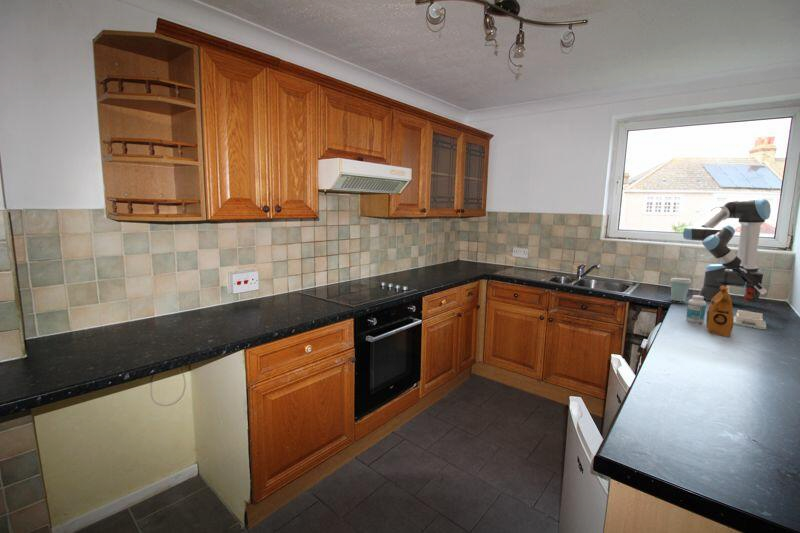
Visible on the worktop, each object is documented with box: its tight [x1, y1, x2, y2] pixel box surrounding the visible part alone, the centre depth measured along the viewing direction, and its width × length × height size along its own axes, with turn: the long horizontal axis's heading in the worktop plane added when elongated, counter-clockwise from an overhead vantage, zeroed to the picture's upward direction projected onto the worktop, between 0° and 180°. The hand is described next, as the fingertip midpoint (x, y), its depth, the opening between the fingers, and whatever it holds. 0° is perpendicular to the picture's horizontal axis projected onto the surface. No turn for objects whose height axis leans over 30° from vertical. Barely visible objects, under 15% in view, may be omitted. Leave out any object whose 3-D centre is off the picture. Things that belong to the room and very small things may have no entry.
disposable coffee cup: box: [670, 277, 692, 302], centre depth 241 cm, size 11×11×15 cm
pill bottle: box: [685, 294, 707, 324], centre depth 199 cm, size 8×7×14 cm
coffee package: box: [705, 286, 735, 338], centre depth 181 cm, size 10×12×22 cm
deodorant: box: [743, 272, 764, 303], centre depth 205 cm, size 6×6×15 cm
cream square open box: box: [733, 309, 767, 331], centre depth 197 cm, size 14×13×5 cm
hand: (760, 291), depth 204 cm, fingers closed on deodorant, 6 cm apart
